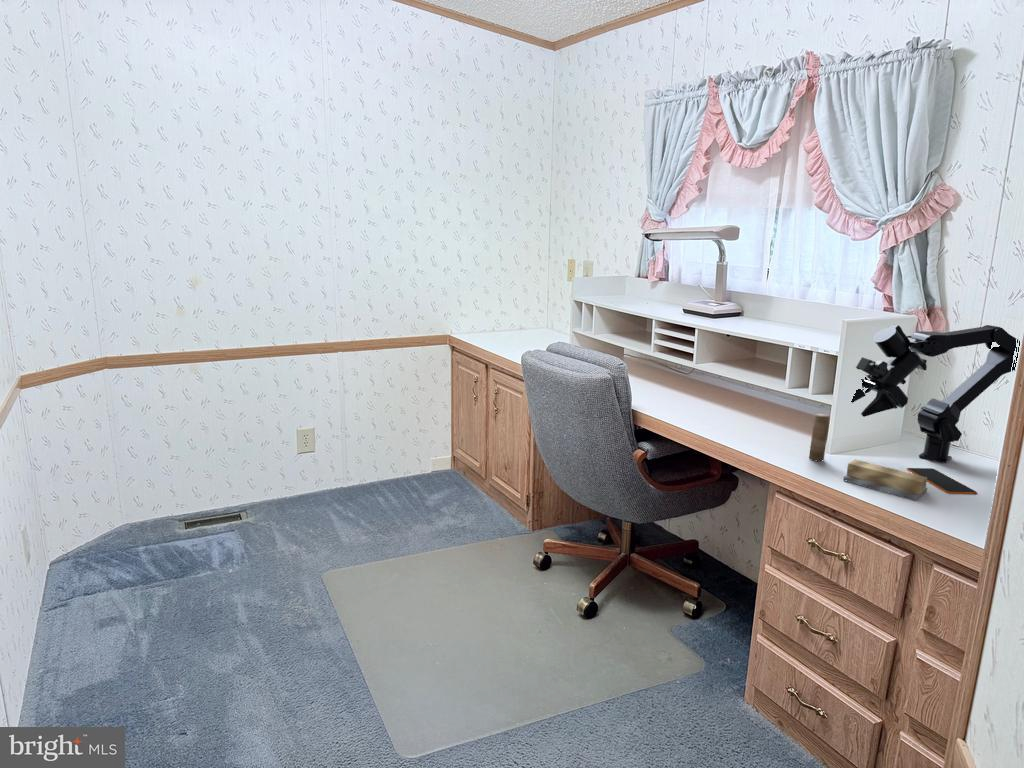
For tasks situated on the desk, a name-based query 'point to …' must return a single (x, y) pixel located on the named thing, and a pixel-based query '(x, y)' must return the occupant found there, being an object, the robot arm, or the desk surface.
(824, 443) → the walnut dowel
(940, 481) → the smartphone
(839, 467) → the desk surface
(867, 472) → the oak ridge
